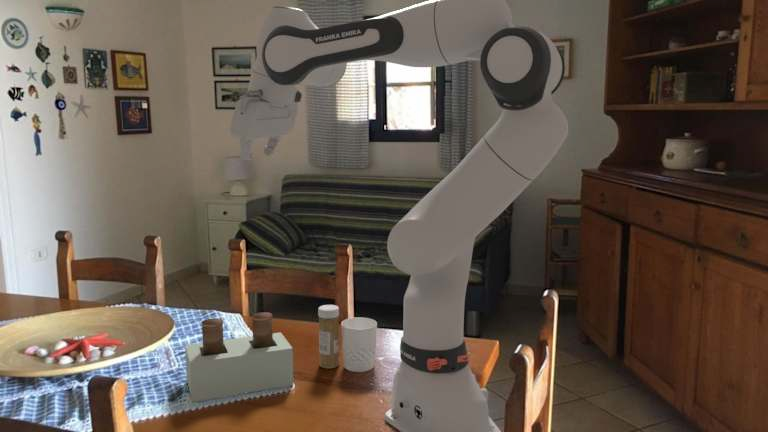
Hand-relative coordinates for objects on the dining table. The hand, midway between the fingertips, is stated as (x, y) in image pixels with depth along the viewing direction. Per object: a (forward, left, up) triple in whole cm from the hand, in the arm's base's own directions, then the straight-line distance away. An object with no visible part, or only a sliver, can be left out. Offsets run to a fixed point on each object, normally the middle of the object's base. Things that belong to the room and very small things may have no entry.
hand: (257, 157), depth 124 cm
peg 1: (-4, +11, -40) cm, 42 cm away
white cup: (-5, -20, -47) cm, 51 cm away
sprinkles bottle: (-2, -14, -47) cm, 49 cm away
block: (-4, +6, -46) cm, 47 cm away
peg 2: (-4, +1, -40) cm, 40 cm away
